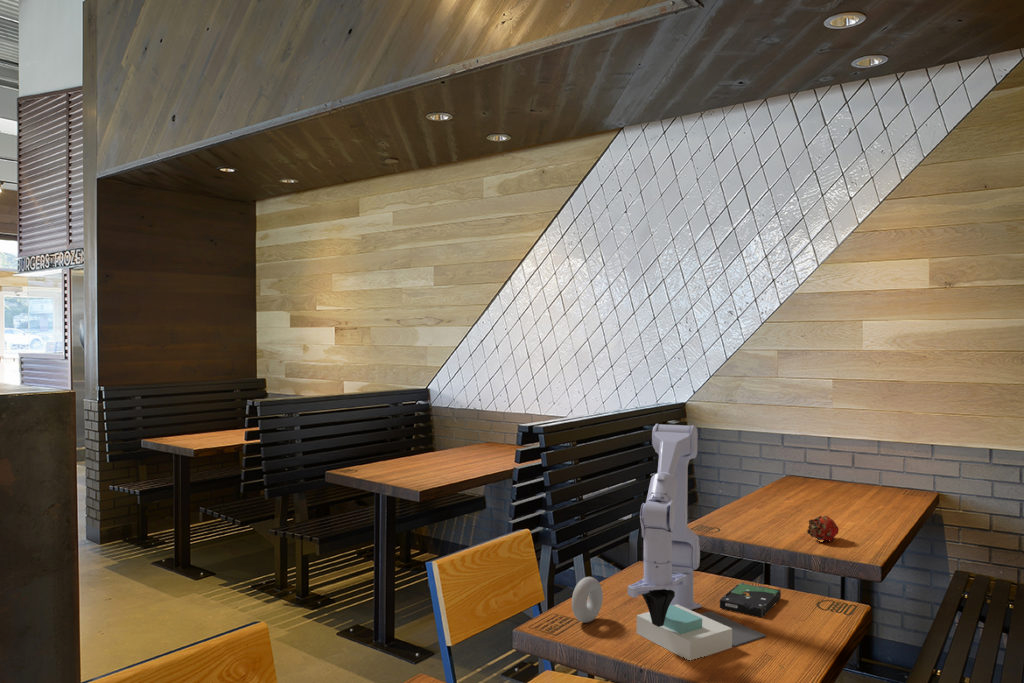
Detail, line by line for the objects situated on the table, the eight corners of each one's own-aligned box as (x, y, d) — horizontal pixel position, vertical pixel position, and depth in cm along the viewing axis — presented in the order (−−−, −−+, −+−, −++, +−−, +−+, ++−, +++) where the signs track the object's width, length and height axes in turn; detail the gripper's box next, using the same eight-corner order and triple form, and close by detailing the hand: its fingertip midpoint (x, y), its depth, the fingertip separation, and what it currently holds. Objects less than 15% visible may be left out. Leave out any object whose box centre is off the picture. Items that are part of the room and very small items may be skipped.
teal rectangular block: (650, 619, 158) (650, 610, 158) (671, 613, 161) (671, 604, 161) (681, 634, 150) (681, 624, 150) (702, 627, 153) (702, 618, 153)
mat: (678, 621, 167) (678, 620, 167) (710, 612, 172) (710, 611, 172) (733, 647, 153) (733, 645, 153) (766, 636, 158) (766, 635, 158)
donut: (593, 613, 172) (593, 570, 172) (605, 616, 170) (605, 573, 170) (568, 626, 164) (568, 581, 164) (581, 630, 162) (581, 585, 162)
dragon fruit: (814, 550, 225) (825, 547, 234) (838, 537, 221) (849, 534, 230) (798, 524, 229) (810, 522, 238) (822, 511, 225) (833, 510, 234)
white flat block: (636, 633, 160) (636, 615, 160) (677, 621, 166) (677, 604, 166) (690, 661, 147) (689, 641, 146) (732, 647, 153) (732, 628, 153)
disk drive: (763, 621, 168) (781, 600, 181) (763, 608, 168) (781, 589, 181) (719, 611, 174) (739, 591, 186) (719, 599, 174) (739, 580, 186)
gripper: (643, 570, 145) (644, 639, 146) (697, 558, 153) (697, 623, 153) (620, 561, 151) (621, 627, 152) (673, 550, 159) (673, 612, 159)
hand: (657, 624), depth 153 cm, fingers closed
